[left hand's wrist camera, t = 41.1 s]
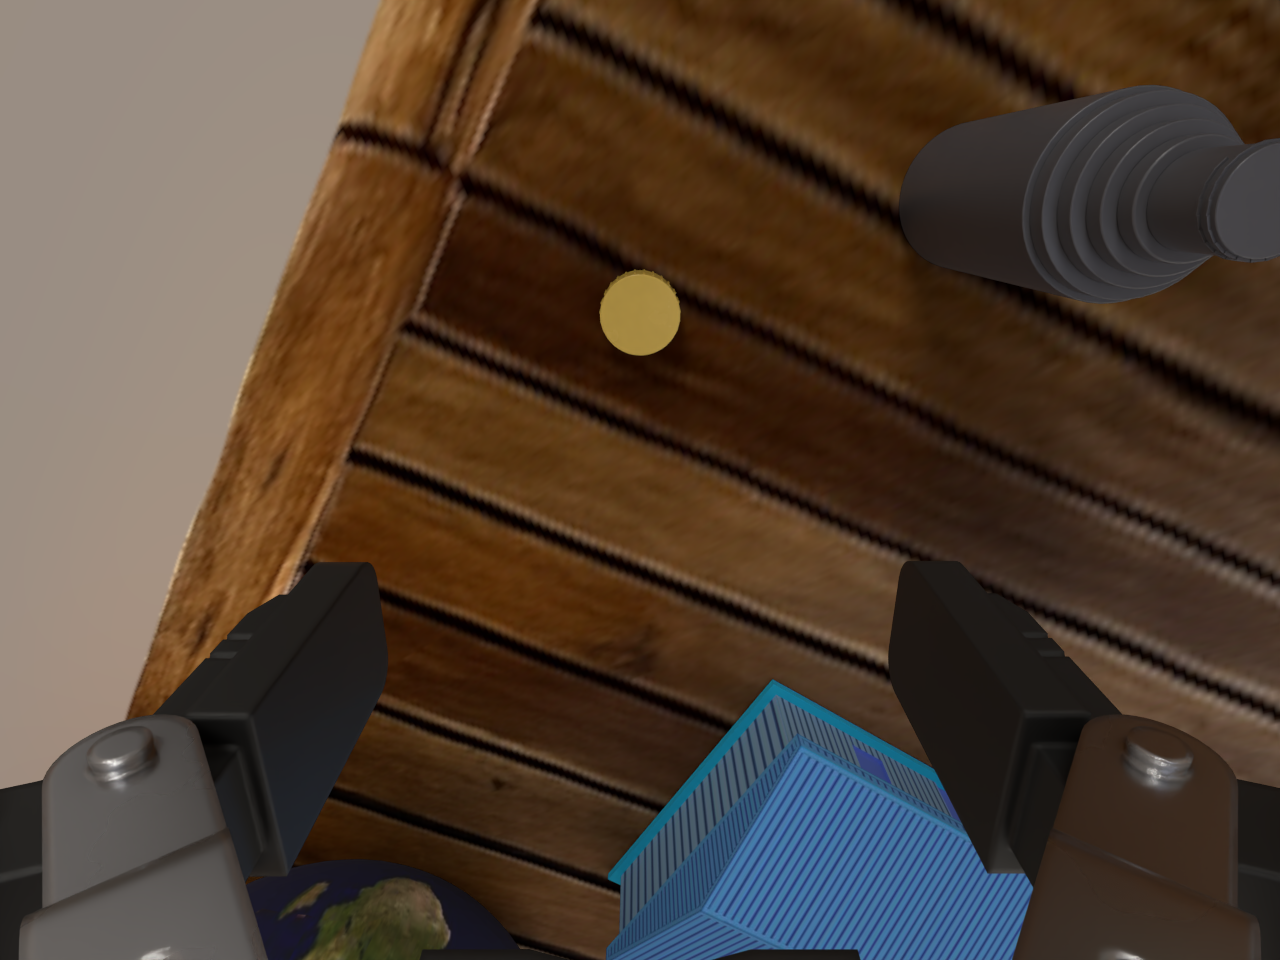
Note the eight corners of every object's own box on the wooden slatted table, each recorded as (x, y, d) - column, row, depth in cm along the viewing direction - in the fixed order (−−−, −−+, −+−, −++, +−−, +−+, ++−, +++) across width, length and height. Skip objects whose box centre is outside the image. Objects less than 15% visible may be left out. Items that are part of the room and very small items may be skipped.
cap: (657, 361, 42) (658, 370, 39) (588, 327, 41) (585, 334, 39) (692, 291, 40) (695, 296, 38) (621, 255, 40) (620, 258, 37)
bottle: (883, 154, 38) (1118, 117, 19) (1024, 97, 37) (1414, 0, 18) (917, 289, 40) (1153, 371, 22) (1049, 238, 39) (1416, 279, 21)
